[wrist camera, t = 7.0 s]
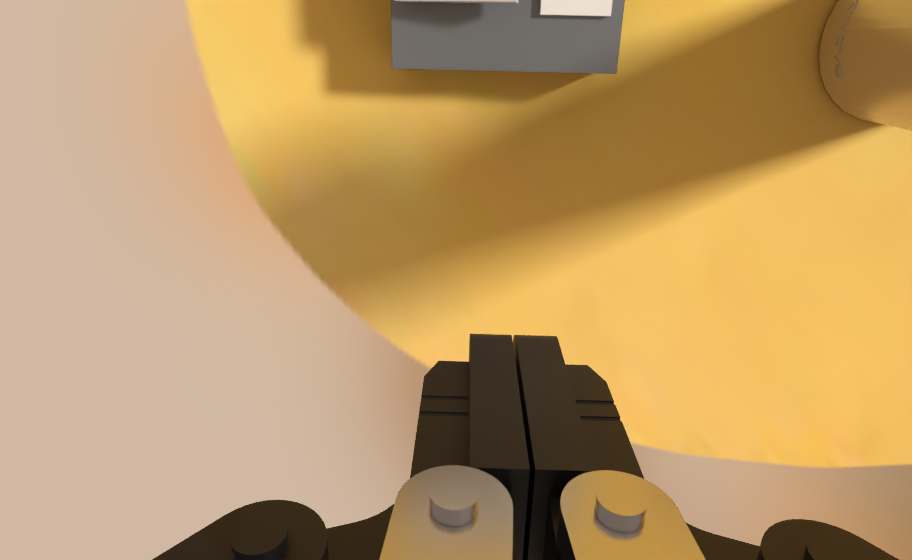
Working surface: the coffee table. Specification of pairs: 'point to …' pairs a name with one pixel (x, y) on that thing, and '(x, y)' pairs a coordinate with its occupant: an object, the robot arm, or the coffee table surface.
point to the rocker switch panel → (508, 36)
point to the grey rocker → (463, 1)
